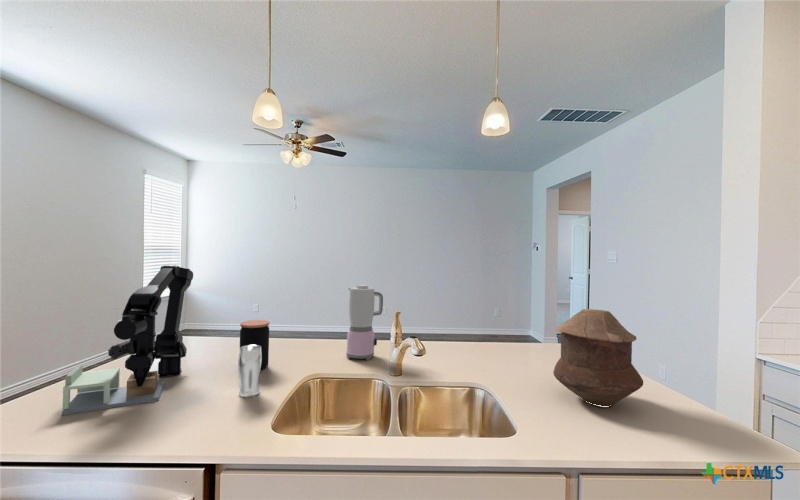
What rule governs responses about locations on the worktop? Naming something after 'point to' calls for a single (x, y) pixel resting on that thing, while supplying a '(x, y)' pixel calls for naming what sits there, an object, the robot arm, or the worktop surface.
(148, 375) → the sleeve
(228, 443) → the worktop surface
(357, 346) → the blender
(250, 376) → the beer glass
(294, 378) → the worktop surface
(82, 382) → the hood
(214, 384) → the worktop surface
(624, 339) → the pottery vessel
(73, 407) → the grey base plate
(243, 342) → the coffee jar
